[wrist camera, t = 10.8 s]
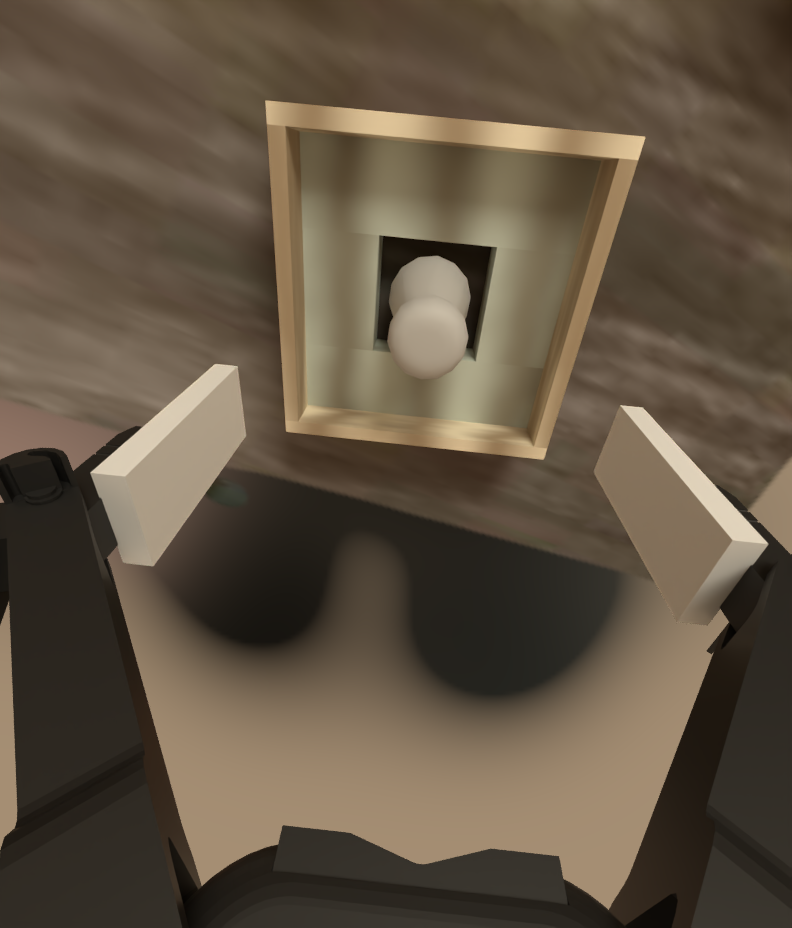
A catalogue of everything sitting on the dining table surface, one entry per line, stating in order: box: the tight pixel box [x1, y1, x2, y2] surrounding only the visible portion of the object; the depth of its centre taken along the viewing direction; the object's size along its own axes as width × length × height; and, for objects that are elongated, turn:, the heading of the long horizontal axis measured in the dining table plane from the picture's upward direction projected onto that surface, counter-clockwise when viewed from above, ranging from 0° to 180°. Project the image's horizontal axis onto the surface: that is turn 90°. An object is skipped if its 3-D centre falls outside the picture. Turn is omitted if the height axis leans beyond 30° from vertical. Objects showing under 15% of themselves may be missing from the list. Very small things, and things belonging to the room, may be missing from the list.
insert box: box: [265, 100, 645, 460], centre depth 31 cm, size 20×20×6 cm
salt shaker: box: [387, 256, 471, 379], centre depth 28 cm, size 6×6×13 cm
